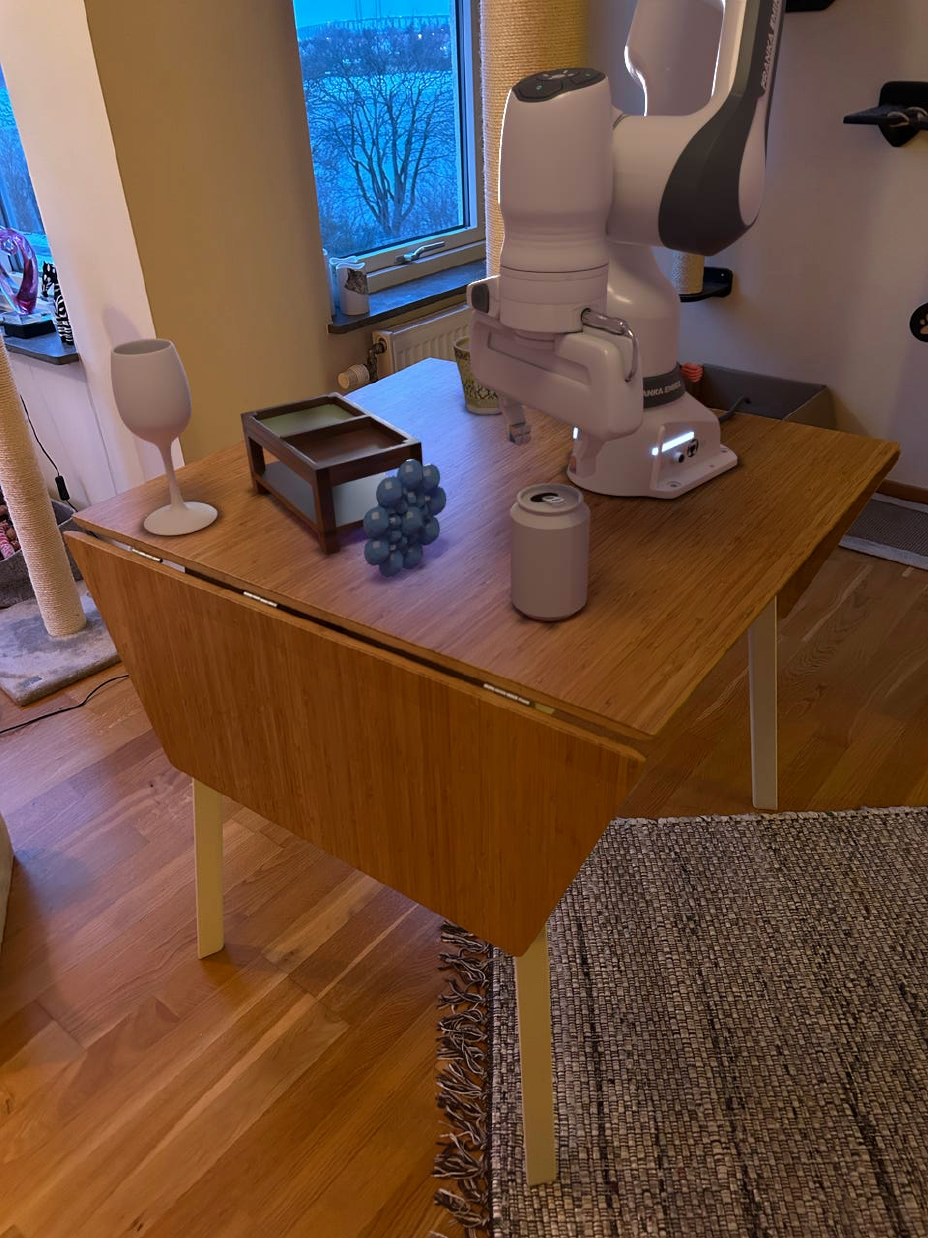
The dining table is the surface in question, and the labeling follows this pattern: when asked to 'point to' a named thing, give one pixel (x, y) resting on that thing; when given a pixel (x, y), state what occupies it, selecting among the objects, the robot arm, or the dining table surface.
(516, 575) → the can
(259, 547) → the dining table surface
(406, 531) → the grapes
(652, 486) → the robot arm
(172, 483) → the wineglass
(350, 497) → the tray
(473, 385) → the ceramic cup
